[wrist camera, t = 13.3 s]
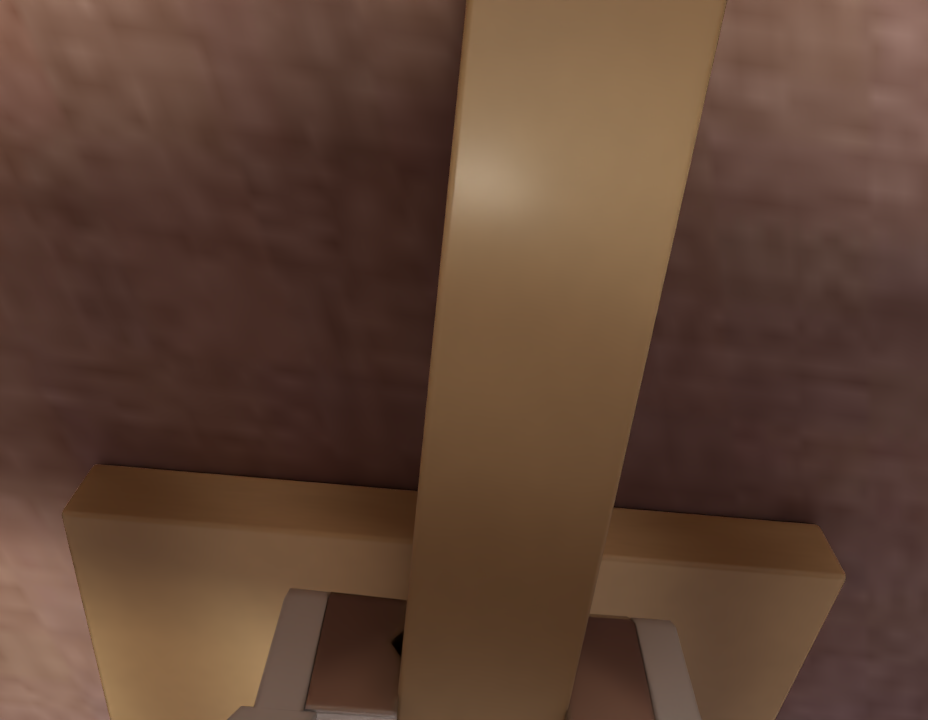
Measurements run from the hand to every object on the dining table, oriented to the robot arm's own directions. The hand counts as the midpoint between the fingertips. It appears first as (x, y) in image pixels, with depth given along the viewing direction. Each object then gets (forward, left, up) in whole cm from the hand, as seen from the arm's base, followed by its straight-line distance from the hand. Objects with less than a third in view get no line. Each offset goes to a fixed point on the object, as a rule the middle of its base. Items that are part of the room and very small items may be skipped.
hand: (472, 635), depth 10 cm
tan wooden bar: (0, +1, -1) cm, 2 cm away
